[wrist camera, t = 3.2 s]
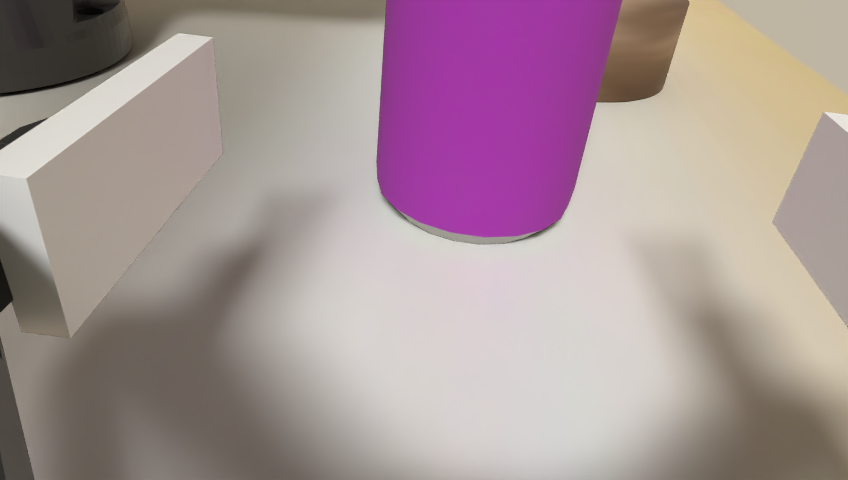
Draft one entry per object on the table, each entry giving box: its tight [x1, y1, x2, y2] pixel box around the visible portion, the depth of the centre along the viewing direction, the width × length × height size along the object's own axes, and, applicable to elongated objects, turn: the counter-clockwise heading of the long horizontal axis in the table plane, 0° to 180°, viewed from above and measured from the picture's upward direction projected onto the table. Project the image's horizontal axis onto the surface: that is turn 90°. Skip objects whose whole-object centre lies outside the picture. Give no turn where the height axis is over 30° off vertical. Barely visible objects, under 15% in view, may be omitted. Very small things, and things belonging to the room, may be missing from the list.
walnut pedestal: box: [597, 0, 689, 102], centre depth 41 cm, size 13×13×5 cm
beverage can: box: [377, 0, 622, 244], centre depth 22 cm, size 8×8×12 cm
